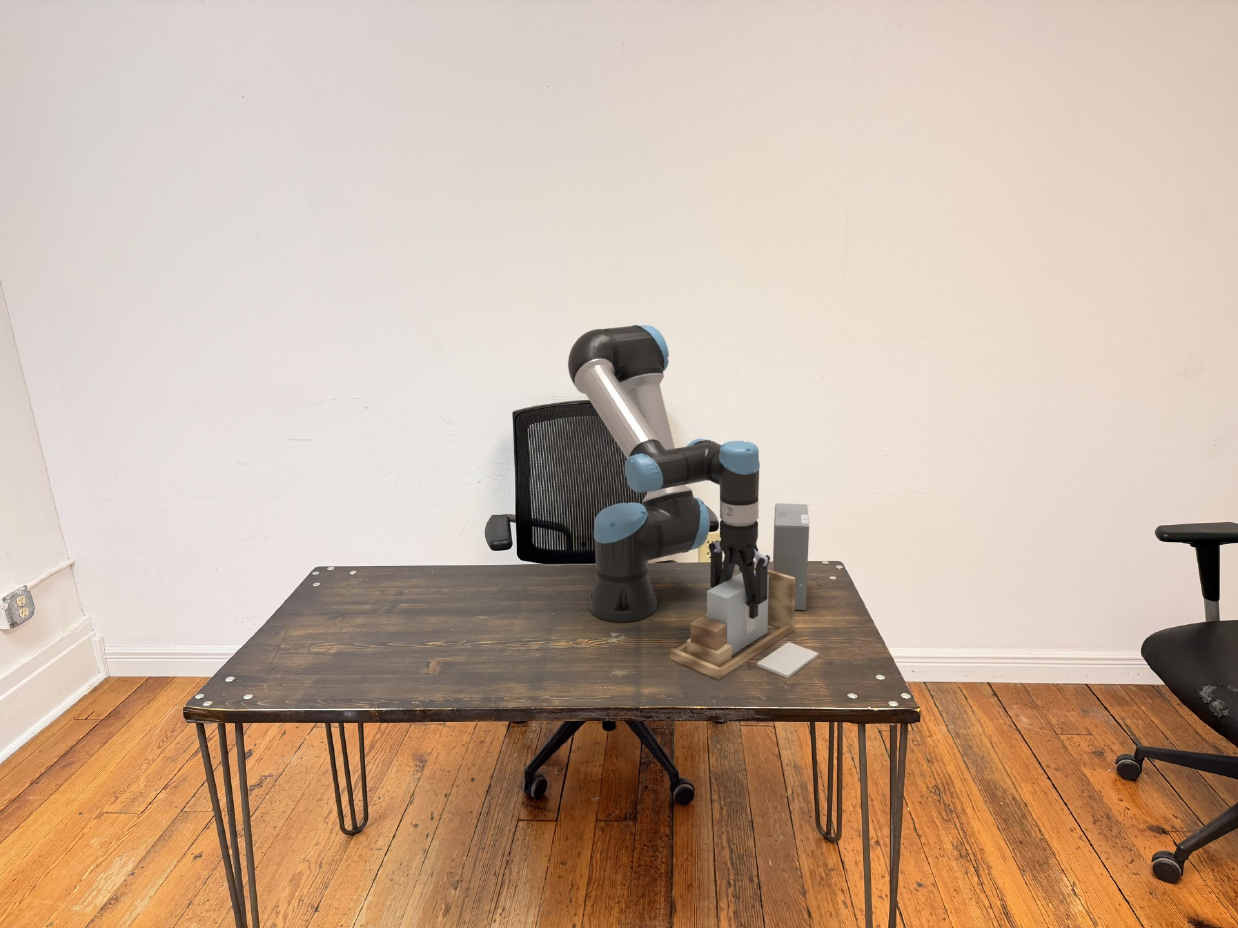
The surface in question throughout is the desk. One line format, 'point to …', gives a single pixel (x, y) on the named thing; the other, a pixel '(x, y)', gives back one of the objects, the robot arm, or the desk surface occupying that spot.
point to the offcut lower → (710, 653)
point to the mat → (787, 659)
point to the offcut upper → (708, 633)
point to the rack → (778, 615)
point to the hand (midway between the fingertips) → (737, 626)
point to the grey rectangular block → (735, 612)
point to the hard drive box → (792, 546)
